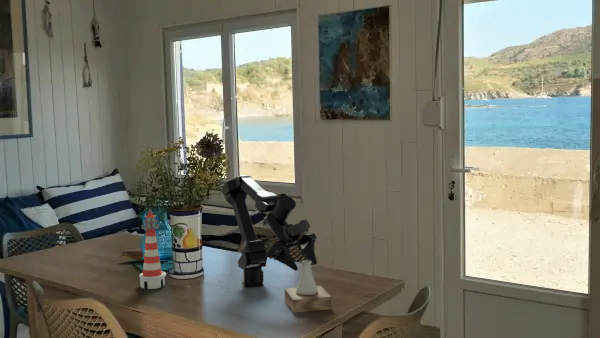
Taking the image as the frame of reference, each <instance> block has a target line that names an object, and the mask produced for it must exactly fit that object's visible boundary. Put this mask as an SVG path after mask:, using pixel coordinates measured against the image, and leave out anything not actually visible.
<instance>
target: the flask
mask: <svg viewBox="0 0 600 338" xmlns="http://www.w3.org/2000/svg"><path fill="white" fill-rule="evenodd" d="M301 264H302V271H301V275H300V278H299V282H298V283H297V287H296V288H297V289H296V294H301V295H314V294H316V293H318V289H317V286H318V285H317V284H316V281H315V279H314V275H313V272H312V264H313V263H312V261H310V260H309V259H306V260H301Z"/></svg>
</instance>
